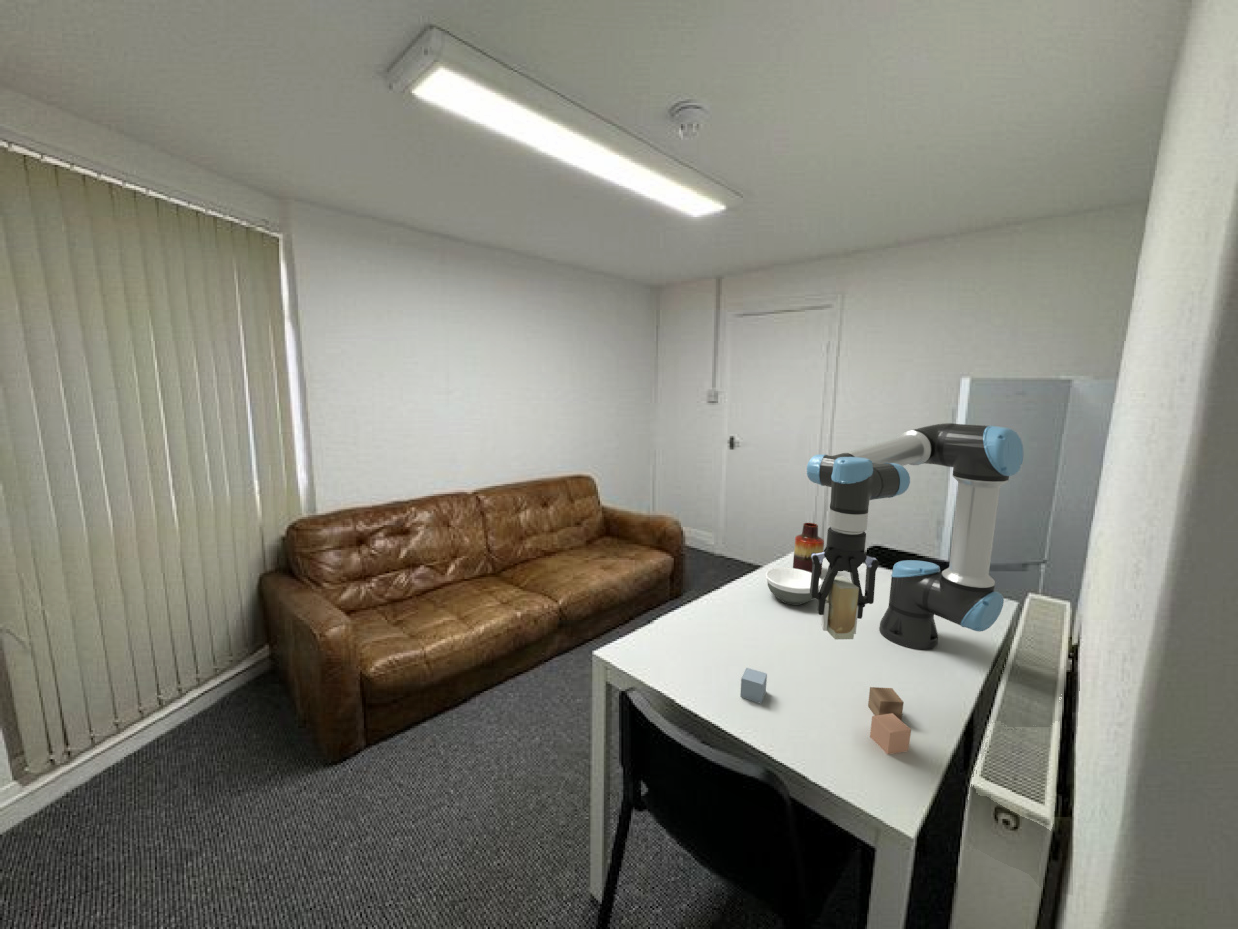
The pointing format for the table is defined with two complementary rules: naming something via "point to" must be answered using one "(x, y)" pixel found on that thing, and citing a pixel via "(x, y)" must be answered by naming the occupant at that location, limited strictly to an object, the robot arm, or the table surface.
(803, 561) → the vase
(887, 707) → the walnut cube
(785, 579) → the bowl
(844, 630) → the skincare box
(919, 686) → the table surface
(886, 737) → the terracotta cube
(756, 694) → the slate cube
